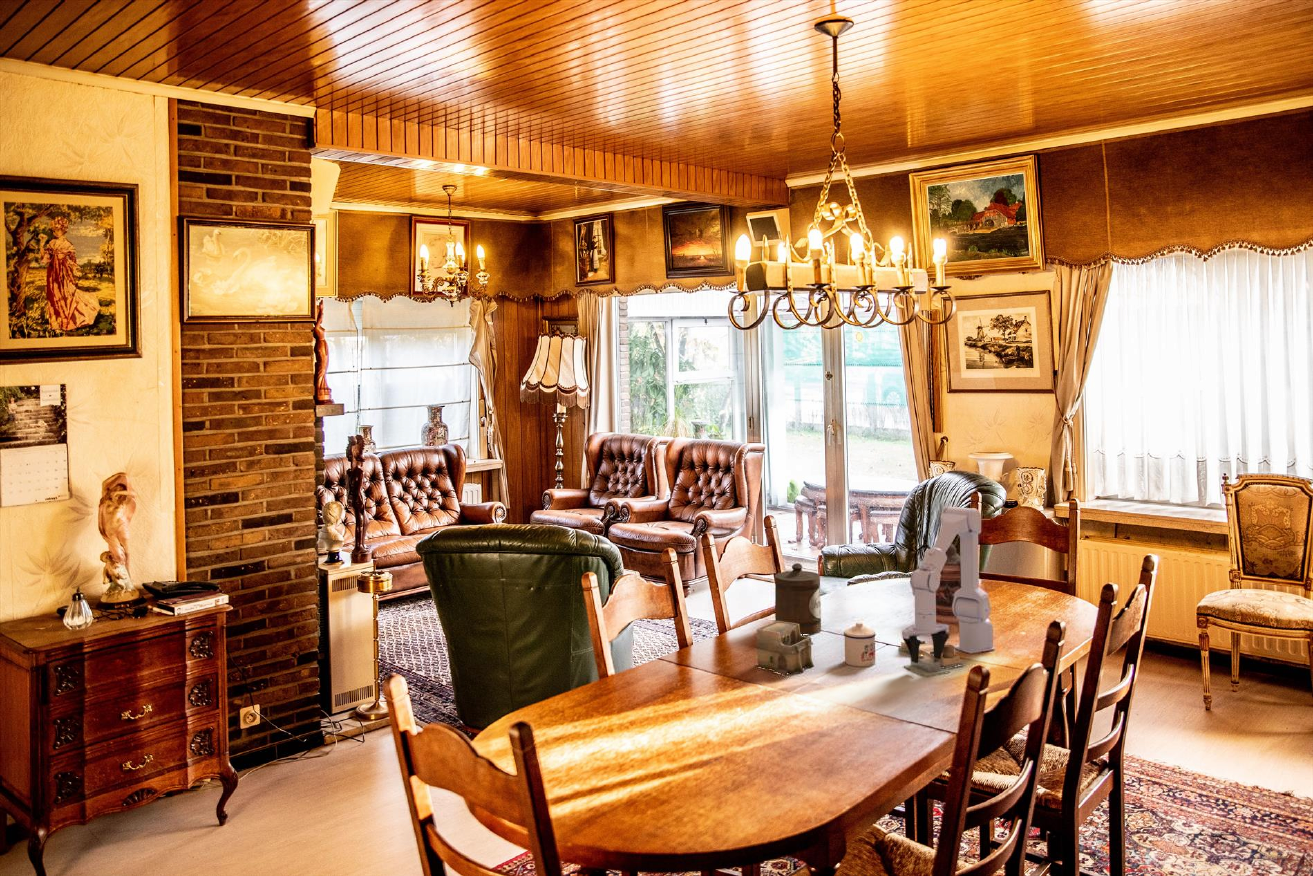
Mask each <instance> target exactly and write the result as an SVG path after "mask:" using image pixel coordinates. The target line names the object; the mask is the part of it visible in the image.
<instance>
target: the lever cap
mask: <svg viewBox="0 0 1313 876" xmlns="http://www.w3.org/2000/svg"><path fill="white" fill-rule="evenodd" d="M910 665H911V666H914V667H916V668H918V669H921V670H923V671H925V672H927V673H931V672H936V671H940V661H937V660H935V659H932V658H930V657H928V656H925V655H923V654H919V660H918V663H914V662H912V660H911V659H910Z"/></svg>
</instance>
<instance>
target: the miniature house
mask: <svg viewBox="0 0 1313 876" xmlns="http://www.w3.org/2000/svg"><path fill="white" fill-rule="evenodd" d="M813 645H815V644H814V642H813V641H812V637H810V636H806V635H804V636H802V635H801V633H800V627H799V624H796V623H789V622H783V621H776V620H775V621H773V622H770V623H768V624H766V625H764V626H761V627H759V628H757V629H756V646H755V647H754V648H755V649H757V650H756V654H757V658H756V659H757V662H756V668H757V667H761V668H765V669H772V670H774V671H772V674H773V673H774V672H778V673H781V674H783V675H785V674H786V675H791V674H792V675H794V674H796V673H799V672H801V674H804V673H805V671H804V669H806V668H811V667H813V668H815V664H814V662H813V659H812V657H813V656H812V646H813ZM757 663H758V665H757ZM805 667H806V668H805ZM803 668H804V669H803ZM765 669H764V670H765ZM795 672H796V673H795ZM787 673H788V674H787ZM783 675H782V676H783ZM786 675H785V676H786Z"/></svg>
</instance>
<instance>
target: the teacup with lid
mask: <svg viewBox="0 0 1313 876" xmlns="http://www.w3.org/2000/svg"><path fill="white" fill-rule="evenodd" d="M843 636H844V662H845V663H846V664H847V665H848V666H852V667H859V668H861V667H862V668H866V667H870V665H871V666H873V665H875V664H876V631H875V630H873V629H871V628H869V627H867V626H865V625H864V624H863V622H859V621H858V622H856V623H855V625H854V626H852V627H849V628H846V629H845V630H844V632H843Z"/></svg>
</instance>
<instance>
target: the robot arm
mask: <svg viewBox="0 0 1313 876" xmlns="http://www.w3.org/2000/svg"><path fill="white" fill-rule="evenodd" d="M940 525H941V527H940V530H939V533H938V535H937V539H936V540H935V543H934V546H933V547H931V548H928V549H927V552H926V553H925V555H924V557H923V559H922V562H921V564H920V565H919V567H918V569H916V570H913V571H912V573H911V575H910V580H909V585H910V588H911V590H912V592H911V594H912V595H913V597H914V626H913V627H909V628H910V629H907V630H906V629H903V630H901V638H902V640H903V642H905V643H906V645H907V647H908V650H909V653H910V654H909V656H910V661H911V660H912V662H914V663H918V660H919V646H920V642H921V641H922V640H920V639H918V637H922V636H927V635H931V639H932V646H933V651H934V657H935V658H937V659H941V655H942V651H943V648H944V645H946V644H947V641H948V639H949V638H950V635H949V632H950V625H949V624H948V623H937V622H936V590H937V589H938V587H939V585H940V578H941V574H940V572H941V570H942V568H943V566H944V564H945V562H946V560H947V556H946V554H945V553H946V551H947V549H948V548H949V546H950V545H951V543H952V544H953V542H952V541H954V540H955V537H956V536H957V535H958V536H959V539H960V540H959V541H960V542H959V545H960V546H959V547H960V549H959V550H960V555H959V556H960V557H961V588H960V589H959V590H957V591H956V592H955V593H954V600H953V604H952V610H953V613H954V615H955V616H957V619H958V620H959V623H958V633H959V634H958V637H959V638H958V639H959V640H958V643H959V644H956V645H953V646H954V649H957V650H959V651H961V652H965V653H966V654H976V653H983V652H988V651H993V650H994V649H995V650H996V647H994V628H993V627H994V626H993V624H992V622H991V620H990V619H989V617H990V615H991V612H992V611H991V608H992V607H991V603H990V598H989V594H988V593H987V592H986V591H984V590H983V589H982V588H981V587H980V574H979V573H980V569H979V567H980V565H979V561H980V560H979V535H980V534H981V533H982V514H981V513H980V511H979V510H978V509H977V508H975V507H974V508H973V507H972V508H969V507H958V506H951V505H946V506H945V507H944V508H943V509H942V511H941V514H940ZM916 636H917V638H916ZM982 651H983V652H982Z"/></svg>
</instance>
